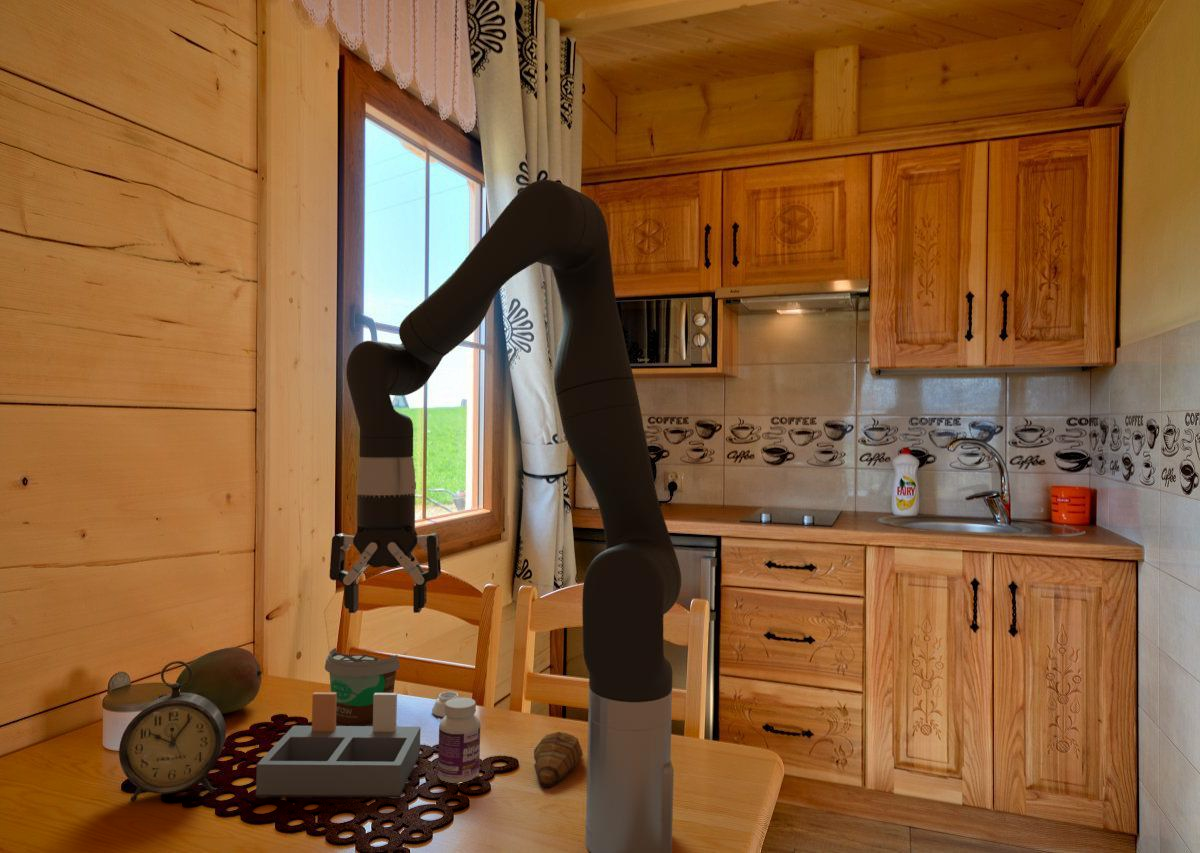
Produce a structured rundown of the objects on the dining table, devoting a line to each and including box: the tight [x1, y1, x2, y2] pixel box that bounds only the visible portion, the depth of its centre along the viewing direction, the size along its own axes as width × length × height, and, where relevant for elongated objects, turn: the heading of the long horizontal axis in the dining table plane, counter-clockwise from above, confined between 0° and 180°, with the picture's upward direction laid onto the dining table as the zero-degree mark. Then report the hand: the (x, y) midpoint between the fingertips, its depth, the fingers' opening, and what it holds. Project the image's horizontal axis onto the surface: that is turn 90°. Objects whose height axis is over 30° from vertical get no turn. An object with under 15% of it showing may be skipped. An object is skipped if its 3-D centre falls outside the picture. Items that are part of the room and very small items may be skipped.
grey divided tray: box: [255, 691, 421, 799], centre depth 98 cm, size 17×12×9 cm
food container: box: [324, 647, 401, 726], centre depth 116 cm, size 12×6×10 cm, turn 73°
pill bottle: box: [437, 697, 481, 784], centre depth 98 cm, size 5×5×10 cm
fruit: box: [175, 646, 262, 715], centre depth 118 cm, size 12×12×10 cm
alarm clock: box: [118, 660, 227, 802], centre depth 92 cm, size 11×5×16 cm, turn 105°
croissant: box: [533, 731, 584, 788], centre depth 102 cm, size 14×7×5 cm, turn 170°
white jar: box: [431, 691, 460, 718], centre depth 120 cm, size 5×3×5 cm
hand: (385, 611), depth 101 cm, fingers open, 8 cm apart
